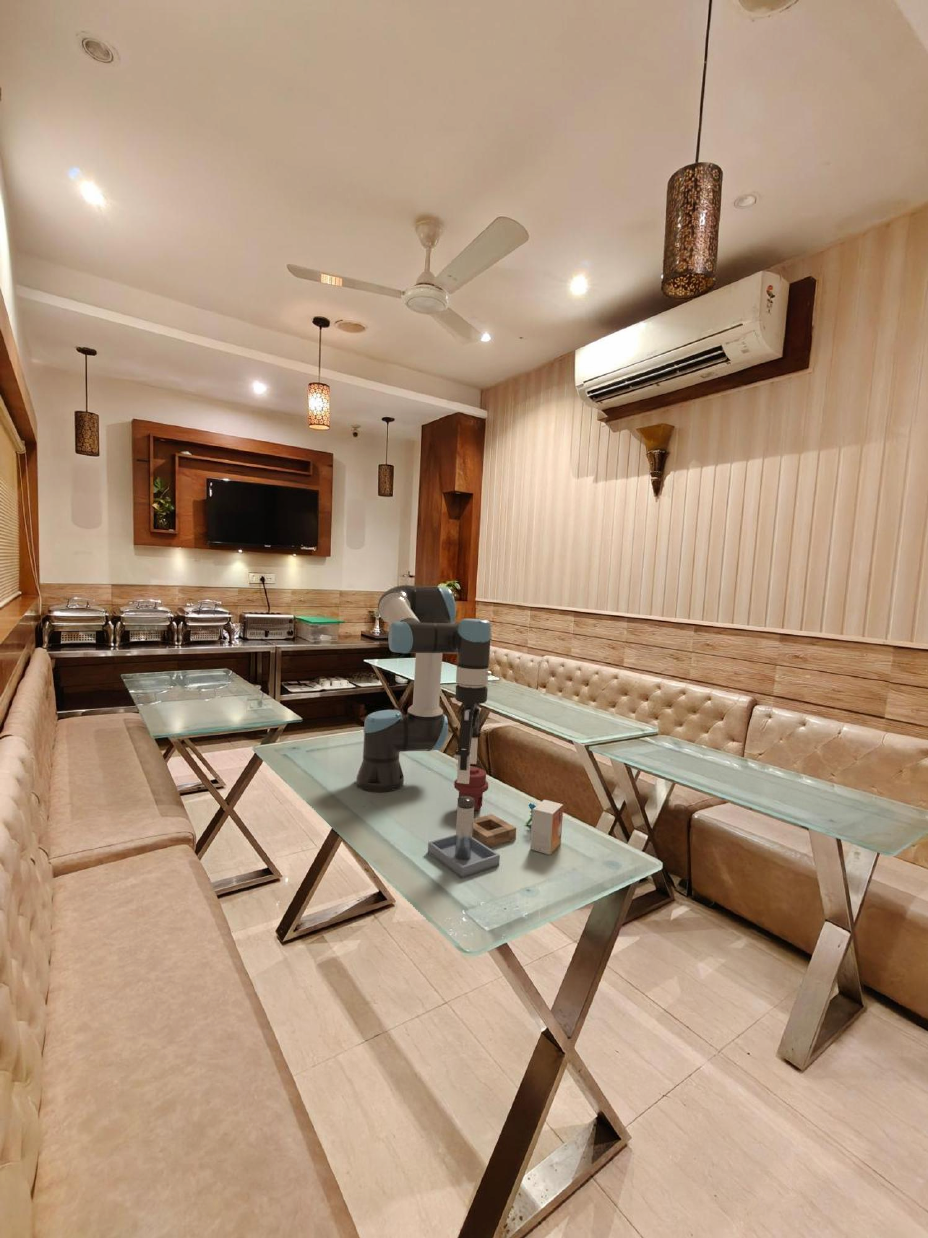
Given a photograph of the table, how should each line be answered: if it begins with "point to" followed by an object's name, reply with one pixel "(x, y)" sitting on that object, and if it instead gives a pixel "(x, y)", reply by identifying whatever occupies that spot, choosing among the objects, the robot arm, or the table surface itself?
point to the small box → (546, 826)
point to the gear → (531, 812)
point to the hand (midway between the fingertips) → (467, 772)
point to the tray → (463, 868)
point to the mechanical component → (474, 786)
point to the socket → (492, 830)
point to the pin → (464, 828)
